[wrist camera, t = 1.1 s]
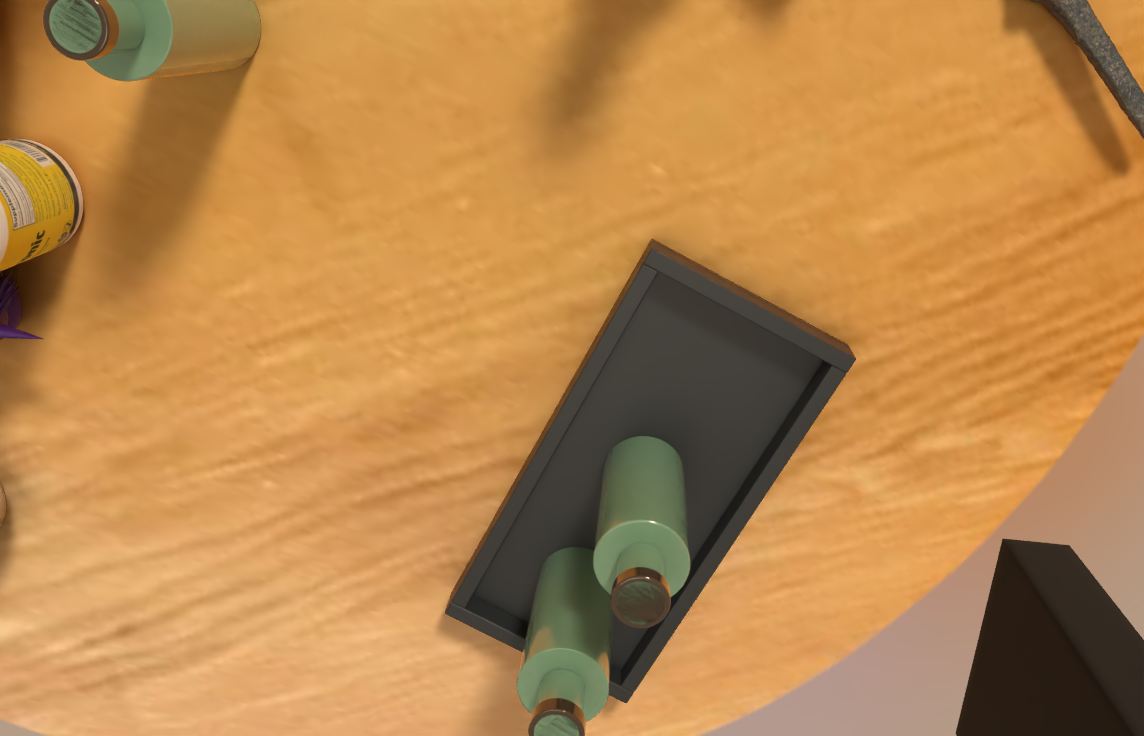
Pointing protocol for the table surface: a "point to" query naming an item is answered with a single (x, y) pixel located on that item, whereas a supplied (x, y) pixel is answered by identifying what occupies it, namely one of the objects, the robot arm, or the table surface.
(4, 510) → the ceramic mug
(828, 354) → the tray
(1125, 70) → the artifact
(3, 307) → the creature
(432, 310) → the table surface
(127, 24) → the loose bottle
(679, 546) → the tray bottle
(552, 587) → the tray bottle
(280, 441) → the table surface
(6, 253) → the supplement bottle
